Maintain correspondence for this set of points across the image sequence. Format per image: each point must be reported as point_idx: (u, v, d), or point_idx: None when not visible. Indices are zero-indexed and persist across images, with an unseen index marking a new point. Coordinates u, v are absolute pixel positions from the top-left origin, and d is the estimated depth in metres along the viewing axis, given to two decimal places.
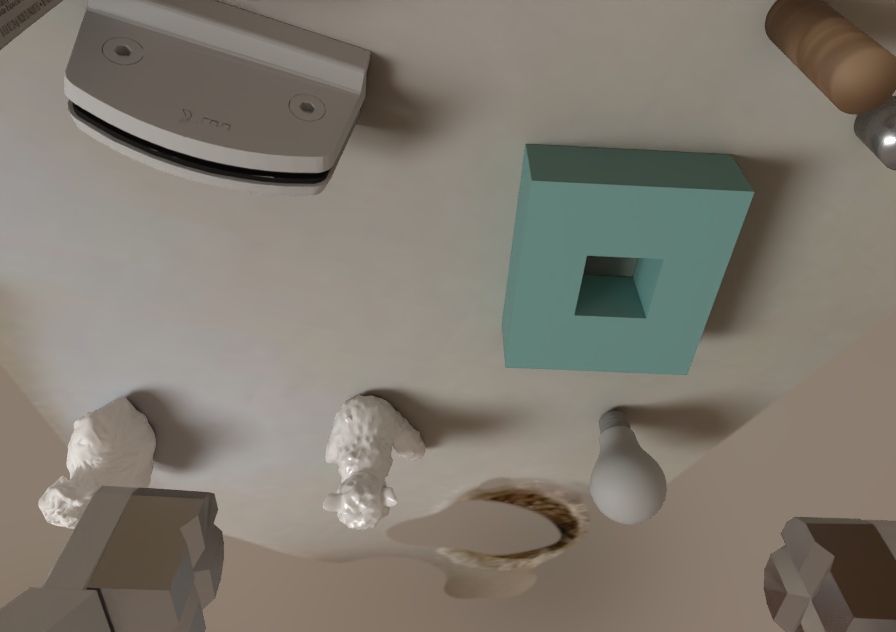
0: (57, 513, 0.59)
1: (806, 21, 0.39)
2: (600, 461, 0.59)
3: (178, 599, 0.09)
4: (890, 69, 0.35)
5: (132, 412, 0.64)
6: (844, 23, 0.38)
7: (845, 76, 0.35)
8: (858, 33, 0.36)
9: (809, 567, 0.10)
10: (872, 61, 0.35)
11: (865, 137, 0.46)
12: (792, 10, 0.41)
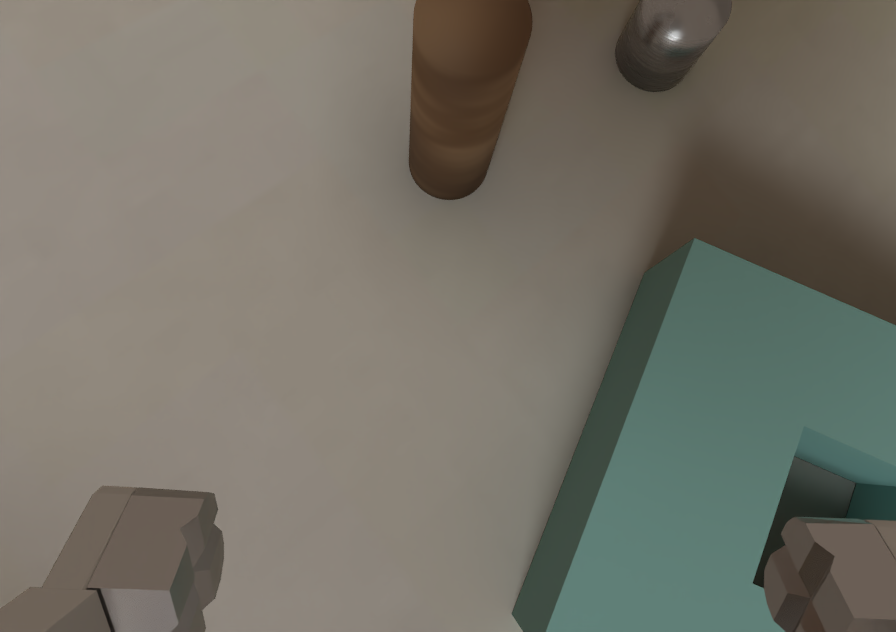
0: None
1: (414, 132, 0.25)
2: None
3: (177, 599, 0.09)
4: None
5: None
6: None
7: (445, 50, 0.19)
8: None
9: (809, 567, 0.10)
10: (434, 7, 0.19)
11: (665, 71, 0.29)
12: (413, 155, 0.27)
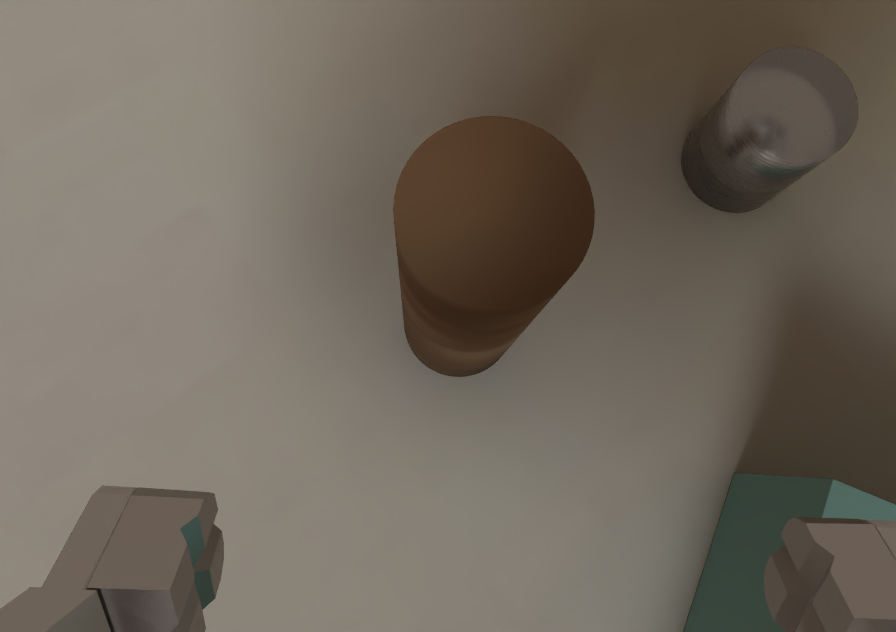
0: None
1: (407, 318, 0.17)
2: None
3: (177, 600, 0.09)
4: (471, 144, 0.12)
5: None
6: None
7: (448, 269, 0.11)
8: None
9: (809, 567, 0.10)
10: (427, 193, 0.11)
11: (757, 193, 0.21)
12: (408, 333, 0.19)
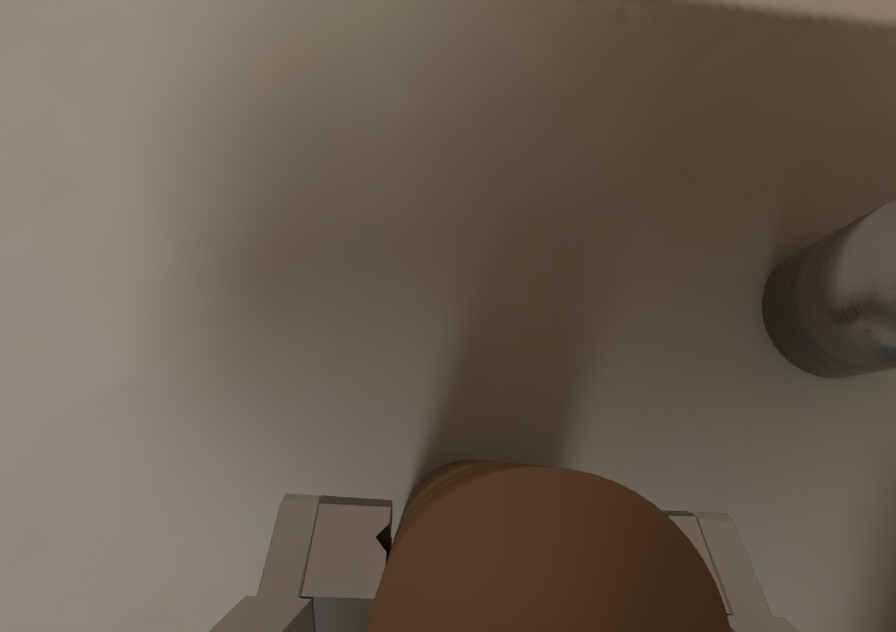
0: None
1: None
2: None
3: None
4: (507, 525, 0.06)
5: None
6: None
7: None
8: (393, 543, 0.09)
9: None
10: (427, 624, 0.06)
11: (873, 369, 0.15)
12: None
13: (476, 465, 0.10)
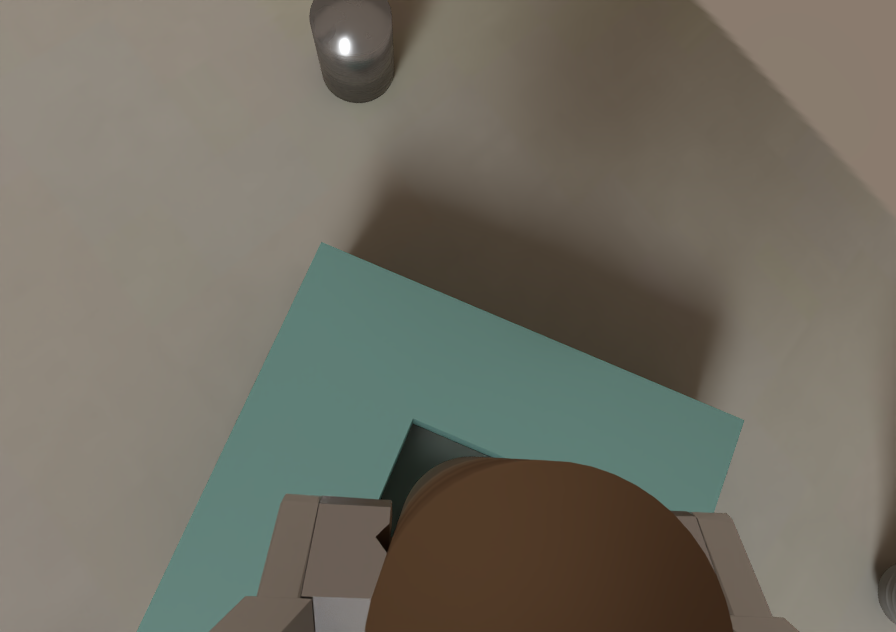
0: None
1: None
2: None
3: None
4: (507, 518, 0.06)
5: None
6: None
7: None
8: (393, 538, 0.09)
9: None
10: (427, 618, 0.06)
11: (351, 83, 0.30)
12: None
13: (476, 460, 0.10)
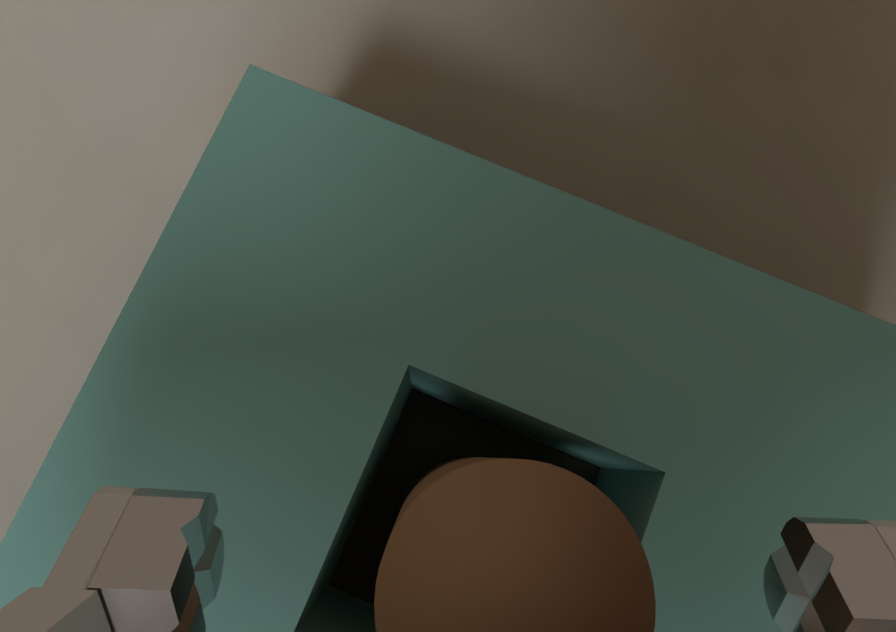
0: None
1: None
2: None
3: (178, 599, 0.09)
4: (483, 503, 0.08)
5: None
6: None
7: None
8: None
9: (809, 567, 0.10)
10: (422, 578, 0.08)
11: None
12: None
13: (465, 459, 0.12)
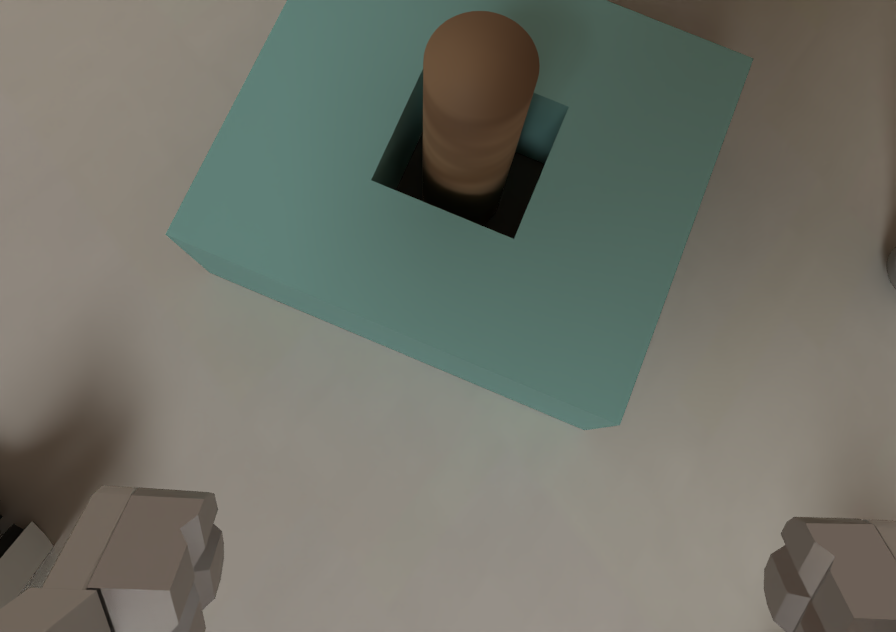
0: None
1: (426, 168, 0.25)
2: None
3: (177, 599, 0.09)
4: (468, 26, 0.20)
5: None
6: None
7: (454, 95, 0.20)
8: None
9: (809, 567, 0.10)
10: (443, 53, 0.20)
11: None
12: (426, 189, 0.27)
13: None
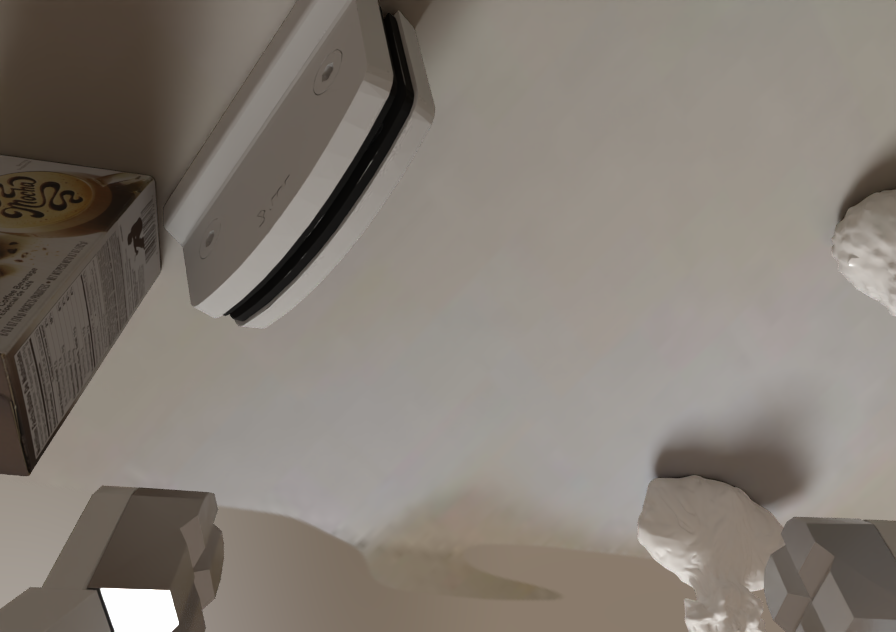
0: None
1: None
2: None
3: (177, 599, 0.09)
4: None
5: (675, 483, 0.50)
6: None
7: None
8: None
9: (809, 567, 0.10)
10: None
11: None
12: None
13: None
